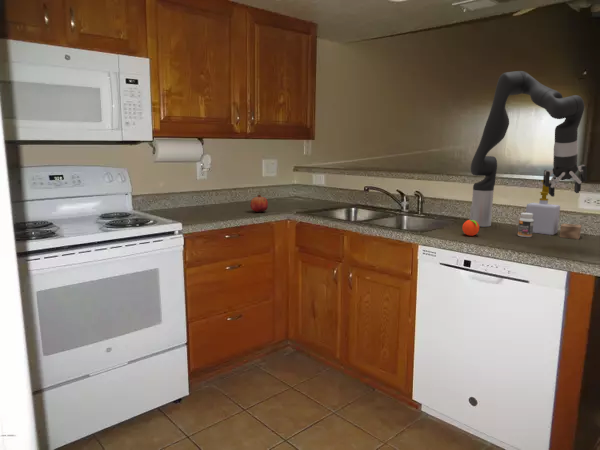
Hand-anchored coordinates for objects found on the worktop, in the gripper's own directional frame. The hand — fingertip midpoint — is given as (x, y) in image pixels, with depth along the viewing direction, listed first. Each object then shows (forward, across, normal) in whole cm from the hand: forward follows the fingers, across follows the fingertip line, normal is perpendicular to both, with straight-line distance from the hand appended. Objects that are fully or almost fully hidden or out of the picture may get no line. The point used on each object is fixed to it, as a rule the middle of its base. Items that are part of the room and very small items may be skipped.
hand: (564, 194), depth 168 cm
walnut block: (+27, -9, -16) cm, 32 cm away
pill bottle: (+24, +9, -15) cm, 29 cm away
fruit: (+13, +136, -65) cm, 152 cm away
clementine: (+19, +32, -13) cm, 39 cm away
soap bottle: (+27, 0, -24) cm, 36 cm away
